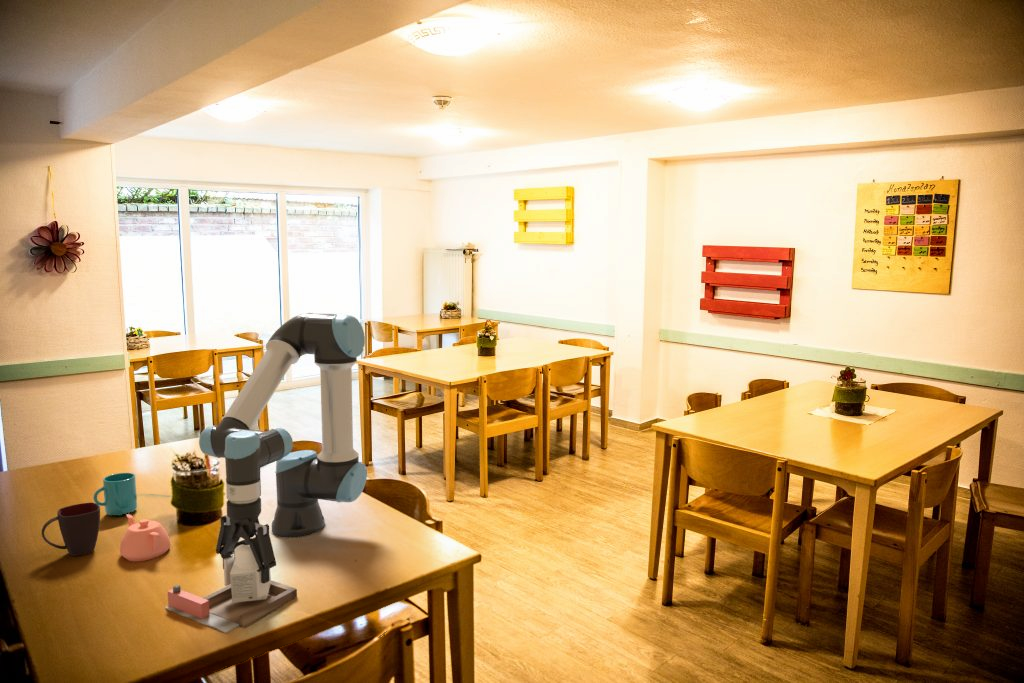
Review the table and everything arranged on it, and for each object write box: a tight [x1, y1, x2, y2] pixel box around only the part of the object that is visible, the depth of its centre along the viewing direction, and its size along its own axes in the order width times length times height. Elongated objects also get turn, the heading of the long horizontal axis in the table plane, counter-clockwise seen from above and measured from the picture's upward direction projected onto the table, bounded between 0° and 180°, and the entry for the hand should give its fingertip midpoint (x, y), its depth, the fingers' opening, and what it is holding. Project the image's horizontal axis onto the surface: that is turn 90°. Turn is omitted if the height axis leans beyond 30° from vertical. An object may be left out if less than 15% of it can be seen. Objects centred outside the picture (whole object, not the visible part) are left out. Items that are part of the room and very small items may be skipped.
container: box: [230, 537, 272, 603], centre depth 168 cm, size 8×8×13 cm
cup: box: [92, 472, 138, 516], centre depth 224 cm, size 9×12×11 cm
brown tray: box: [164, 579, 298, 634], centre depth 168 cm, size 23×19×2 cm
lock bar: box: [167, 584, 210, 619], centre depth 164 cm, size 12×2×5 cm, turn 61°
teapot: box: [119, 513, 171, 563], centre depth 195 cm, size 12×18×10 cm
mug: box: [41, 502, 101, 557], centre depth 194 cm, size 10×14×12 cm
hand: (246, 589), depth 167 cm, fingers closed on container, 10 cm apart
